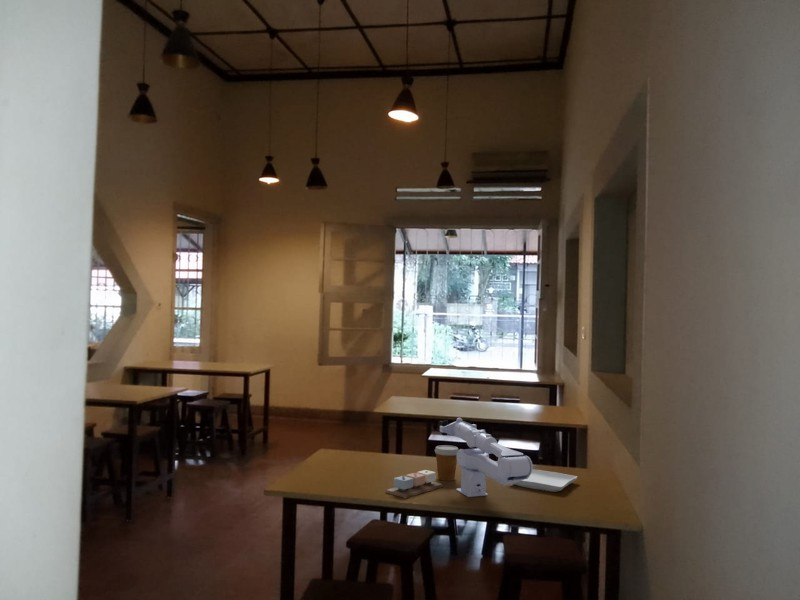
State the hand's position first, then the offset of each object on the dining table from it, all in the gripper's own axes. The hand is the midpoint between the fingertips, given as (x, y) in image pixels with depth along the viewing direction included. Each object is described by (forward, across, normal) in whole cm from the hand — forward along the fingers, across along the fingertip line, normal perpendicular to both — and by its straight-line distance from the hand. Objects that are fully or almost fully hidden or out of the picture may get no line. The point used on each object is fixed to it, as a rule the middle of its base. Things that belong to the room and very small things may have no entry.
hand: (448, 423), depth 244 cm
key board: (-12, +18, +21) cm, 30 cm away
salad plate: (-19, -32, +21) cm, 43 cm away
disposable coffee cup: (-1, 0, +22) cm, 22 cm away
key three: (-14, +24, +18) cm, 33 cm away
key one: (-8, +12, +19) cm, 24 cm away
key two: (-11, +18, +18) cm, 28 cm away
